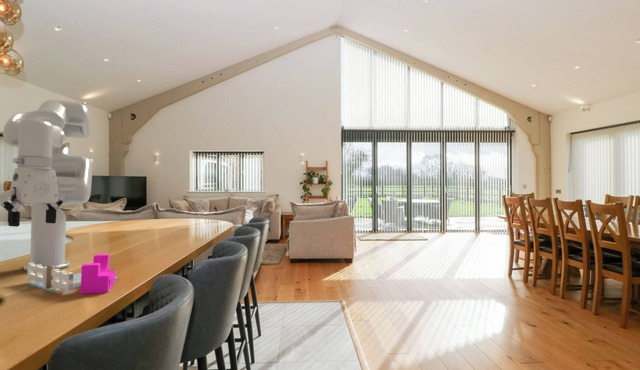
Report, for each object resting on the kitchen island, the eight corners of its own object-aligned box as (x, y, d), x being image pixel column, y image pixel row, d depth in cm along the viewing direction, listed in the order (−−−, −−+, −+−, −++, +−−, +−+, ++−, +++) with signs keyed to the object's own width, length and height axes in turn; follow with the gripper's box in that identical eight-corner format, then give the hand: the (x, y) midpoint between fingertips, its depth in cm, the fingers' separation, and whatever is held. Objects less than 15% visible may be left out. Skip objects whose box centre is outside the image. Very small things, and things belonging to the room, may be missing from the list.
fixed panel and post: (44, 289, 97) (45, 265, 97) (52, 287, 98) (53, 264, 98) (66, 295, 91) (67, 271, 91) (74, 294, 93) (74, 269, 93)
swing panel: (49, 284, 98) (50, 266, 98) (44, 285, 97) (45, 267, 97) (32, 279, 103) (32, 262, 103) (27, 280, 102) (27, 263, 102)
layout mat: (26, 283, 101) (26, 282, 101) (90, 272, 117) (90, 270, 117) (54, 292, 93) (54, 290, 93) (119, 278, 109) (119, 277, 109)
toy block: (107, 292, 95) (108, 264, 95) (80, 294, 92) (81, 265, 92) (117, 277, 109) (118, 253, 109) (94, 279, 106) (95, 254, 106)
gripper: (10, 161, 90) (7, 228, 89) (74, 166, 106) (72, 222, 106) (-11, 161, 92) (-13, 226, 92) (55, 166, 108) (54, 221, 108)
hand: (33, 224), depth 99 cm, fingers open, 9 cm apart
